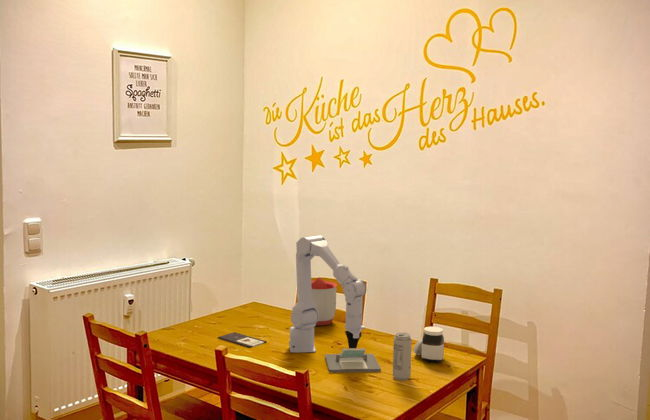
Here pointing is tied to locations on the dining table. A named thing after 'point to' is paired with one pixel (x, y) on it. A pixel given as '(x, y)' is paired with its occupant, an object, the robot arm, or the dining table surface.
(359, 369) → the grey flat piece
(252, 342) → the chocolate bar
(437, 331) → the spread jar
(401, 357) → the energy drink can
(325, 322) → the citrus juicer
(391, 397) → the dining table surface
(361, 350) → the tile
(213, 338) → the dining table surface
